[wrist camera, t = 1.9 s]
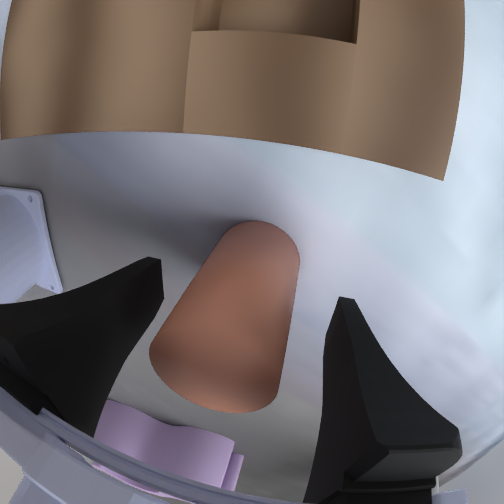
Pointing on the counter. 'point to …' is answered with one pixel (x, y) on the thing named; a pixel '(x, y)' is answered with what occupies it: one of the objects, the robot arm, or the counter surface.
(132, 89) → the board
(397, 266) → the counter surface
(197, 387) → the pin
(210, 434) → the clip
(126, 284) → the robot arm
